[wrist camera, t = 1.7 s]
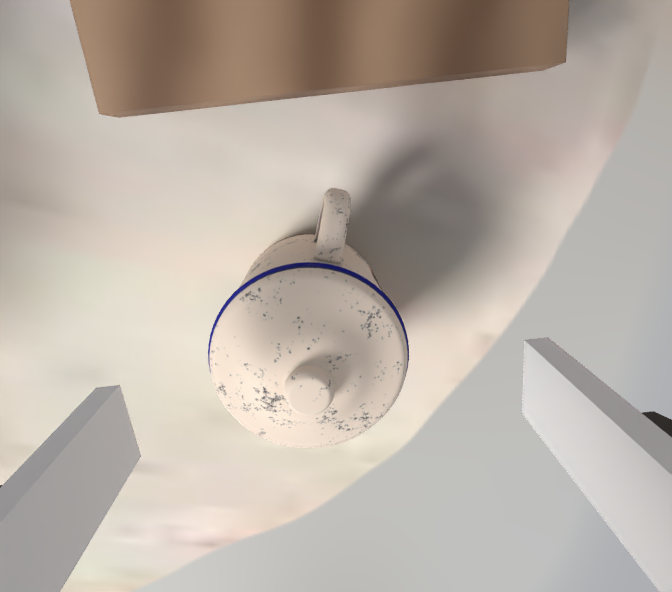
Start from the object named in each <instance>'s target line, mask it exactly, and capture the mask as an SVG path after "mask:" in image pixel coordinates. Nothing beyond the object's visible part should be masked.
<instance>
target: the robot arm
mask: <svg viewBox="0 0 672 592" xmlns="http://www.w3.org/2000/svg"><path fill="white" fill-rule="evenodd" d="M523 373H524V375H523V403H522V414H523V415H524V417H525V418H526V419H527V421H528V422H529V423H530V424H531V426H532V427H533V428H534V430H535V431H536V432H537V433H538V435H539V436H540V437H541V439H542V440H543V441H544V442H545V443H546V445H547V446H548V448H549V449H550V450H551V452H552V453H553V454H554V455H555V457H556V458H557V459H558V461H559V462H560V463H561V464H562V466H563V467H564V468H565V470H566V471H567V472H568V474H569V475H570V476H571V477H572V479H573V480H574V481H575V483H576V484H577V485H578V486H579V488H580V489H581V490H582V492H583V493H584V494H585V495H586V497H587V498H588V500H589V501H590V502H591V503H592V505H593V506H594V507H595V509H596V510H597V511H598V512H599V514H600V515H601V516H602V518H603V519H604V520H605V522H606V523H607V524H608V525H609V527H610V528H611V529H612V530H613V532H614V533H615V534H616V536H617V537H618V538H619V540H620V541H621V542H622V543H623V545H624V546H625V547H626V549H627V550H628V551H629V553H630V554H631V555H632V557H633V558H634V559H635V560H636V562H637V563H638V564H639V566H640V567H641V568H642V569H643V571H644V572H645V573H646V575H647V576H648V577H649V579H650V580H651V581H652V582H653V584H654V585H655V586H656V588H657V589H658V590H659V592H672V420H671V419H669V418H667V417H664V416H662V415H660V414H658V413H656V412H645V413H641V412H639V411H638V410H637V409H636V408H635V407H633V406H632V405H631V404H630V403H628V402H627V401H626V400H625V399H623V398H622V397H621V396H620V395H619V394H617V393H616V392H615V391H614V390H612V389H611V388H610V387H609V386H607V385H606V384H605V383H604V382H603V381H601V380H600V379H599V378H598V377H596V376H595V375H594V374H593V373H592V372H590V371H589V370H588V369H587V368H585V367H584V366H583V365H582V364H580V363H579V362H578V361H577V360H575V359H574V358H573V357H572V356H570V355H569V354H568V353H567V352H565V351H564V350H563V349H562V348H561V347H559V346H558V345H557V344H556V343H555V342H553V341H551V339H549V338H548V337H547V338H538V339H529V340H524V371H523ZM140 457H141V455H140V452H139V448H138V445H137V441H136V438H135V435H134V431H133V428H132V425H131V421H130V418H129V415H128V411H127V408H126V404H125V401H124V398H123V394H122V391H121V388H120V385H116V386H107V387H98V388H95V390H94V391H93V392H92V393H91V394H90V395H89V396H88V397H87V398H86V399H85V400H84V401H83V402H82V403H81V404H80V405H79V406H78V407H77V408H76V409H75V410H74V411H73V412H72V414H71V415H70V416H69V417H68V418H67V419H66V420H65V421H64V422H63V423H62V424H61V425H60V426H59V427H58V428H57V429H56V430H55V431H54V432H53V433H52V434H51V435H50V436H49V437H48V439H47V440H46V441H45V442H44V443H43V444H42V445H41V446H40V447H39V448H38V449H37V450H36V451H35V452H34V453H33V454H32V455H31V456H30V457H29V458H28V459H27V460H26V461H25V463H24V464H23V465H22V466H21V467H20V468H19V469H18V470H17V471H16V472H15V473H14V474H13V475H12V476H11V477H10V478H9V479H8V480H7V481H6V482H5V483H4V484H3V485H0V592H60V591H61V589H62V588H63V586H64V584H65V582H66V581H67V579H68V577H69V576H70V574H71V572H72V571H73V569H74V567H75V566H76V564H77V562H78V561H79V559H80V557H81V556H82V554H83V552H84V551H85V549H86V547H87V546H88V544H89V542H90V540H91V539H92V537H93V535H94V534H95V532H96V530H97V529H98V527H99V525H100V524H101V522H102V520H103V519H104V517H105V515H106V514H107V512H108V510H109V509H110V507H111V505H112V504H113V502H114V500H115V498H116V497H117V495H118V493H119V492H120V490H121V488H122V487H123V485H124V483H125V482H126V480H127V478H128V477H129V475H130V473H131V472H132V470H133V468H134V467H135V465H136V463H137V462H138V460H139V458H140Z"/></svg>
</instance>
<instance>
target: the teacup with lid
mask: <svg viewBox="0 0 672 592" xmlns="http://www.w3.org/2000/svg"><path fill="white" fill-rule="evenodd" d="M350 209H351V199H350V196H349V194H348V193H347V192H346V191H344V190H340V189H335V188H331V189H329V190H327V191H326V193H325V194H324V197H323V201H322V204H321V209H320V213H319V218H318V223H317V228H316V233H315V235H314V234H306V235H298V236H293V237H289V238H286V239H284V240H281V241H279V242H277V243H275V244H274V245H272V246H270V247H269V248H268V249H266V250H265V251H264V252H263V253H262V254H261V255H260V256H259V257H258V258H257V259H256V260H255V262H254V263H253V265H252V266H251V268H250V270H249V271H248V273H247V275H246V277H245V279H244V280H243V282H242V284H241V286H240V288H239V289H238V290H236V291H235V292H234V293H233V294H232V296H231V297H230V298H229V299H228V300H227V302H226V303H225V304H224V306H223V307H222V309H221V310H220V312H219V314H218V316H217V318H216V320H215V323H214V325H213V328H212V331H211V335H210V341H209V350H208V358H209V367H210V373H211V376H212V380H213V384H214V386H215V389H216V391H217V393H218V395H219V397H220V399H221V401H222V402H223V404H224V406H225V407H226V408H227V410H228V411H229V412H230V413H231V414H232V415H233V417H234V418H235V419H236V420H237V421H239V422H240V423H241V424H242V425H243V426H244V427H246V428H247V429H249V430H250V431H251V432H253V433H255V434H256V435H258V436H260V437H262V438H264V439H266V440H269V441H272V442H274V443H278V444H281V445H285V446H291V447H299V448H317V447H325V446H331V445H335V444H339V443H342V442H345V441H347V440H350V439H352V438H354V437H356V436H358V435H360V434H362V433H363V432H365V431H366V430H368V429H369V428H371V427H372V426H373V425H374V424H376V423H377V422H378V421H379V420H380V419H381V418H382V417H383V416H384V415H385V414H386V413H387V412H388V410H389V409H390V408H391V406H392V405H393V404H394V402H395V400H396V399H397V397H398V395H399V393H400V391H401V389H402V386H403V383H404V380H405V377H406V373H407V368H408V361H409V346H408V339H407V334H406V330H405V327H404V324H403V321H402V319H401V317H400V315H399V313H398V311H397V309H396V308H395V306H394V305H393V303H392V302H391V301H390V299H389V298H388V297H387V296H386V295H385V294H384V293H383V292H382V290H381V288H380V286H379V284H378V282H377V280H376V278H375V276H374V273H373V271H372V270H371V268H370V266H369V265H368V263H367V262H366V261H365V259H364V258H363V257H362V256H361V255H360V254H359V253H358V252H357V251H356V250H354V249H353V248H352V247H350V246H349V245H347V244H345V240H346V235H347V230H348V224H349V218H350Z"/></svg>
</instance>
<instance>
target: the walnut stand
mask: <svg viewBox="0 0 672 592" xmlns="http://www.w3.org/2000/svg"><path fill="white" fill-rule="evenodd" d="M70 3H71V7H72V11H73V15H74V19H75V22H76V26H77V30H78V34H79V38H80V42H81V46H82V49H83V53H84V57H85V61H86V65H87V69H88V73H89V76H90V80H91V84H92V88H93V92H94V96H95V100H96V103H97V107H98V111H99V114H102V115H108V116H114V117H128V116H137V115H146V114H155V113H164V112H173V111H182V110H191V109H200V108H209V107H218V106H227V105H236V104H245V103H254V102H263V101H272V100H281V99H290V98H299V97H308V96H317V95H326V94H335V93H344V92H353V91H362V90H371V89H380V88H389V87H398V86H407V85H416V84H425V83H434V82H443V81H452V80H461V79H470V78H479V77H488V76H497V75H506V74H515V73H524V72H533V71H542V70H545V69H548V68H551V67H554V66H556V65H559V64H562V63H565V62H566V48H567V30H568V12H569V0H70Z"/></svg>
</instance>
